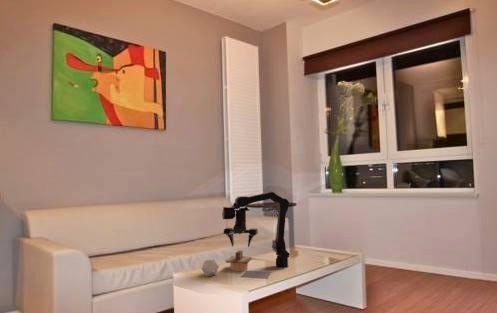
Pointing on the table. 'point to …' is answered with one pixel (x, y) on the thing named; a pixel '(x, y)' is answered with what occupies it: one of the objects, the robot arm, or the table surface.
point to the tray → (256, 274)
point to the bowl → (238, 266)
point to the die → (210, 267)
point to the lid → (238, 258)
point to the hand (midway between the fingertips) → (240, 246)
